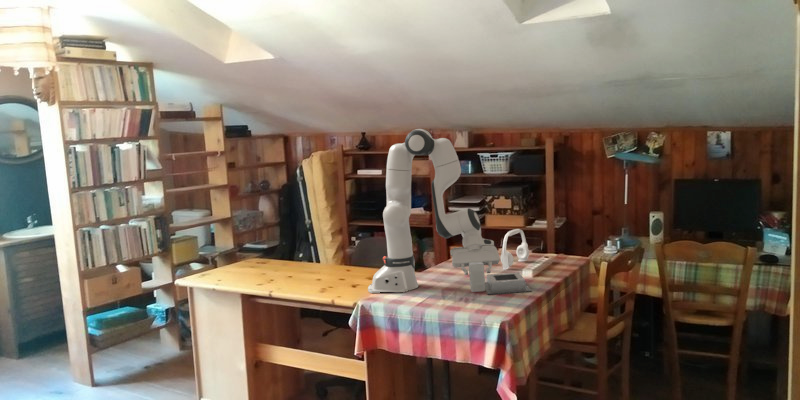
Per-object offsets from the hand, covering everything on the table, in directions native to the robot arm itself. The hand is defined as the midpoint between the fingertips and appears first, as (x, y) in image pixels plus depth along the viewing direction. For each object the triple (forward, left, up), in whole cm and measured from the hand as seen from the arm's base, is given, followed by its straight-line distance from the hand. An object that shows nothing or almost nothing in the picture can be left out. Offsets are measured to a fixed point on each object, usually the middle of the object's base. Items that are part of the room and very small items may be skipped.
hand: (477, 273), depth 273 cm
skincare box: (0, 0, -8) cm, 8 cm away
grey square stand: (+12, +1, -7) cm, 14 cm away
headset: (+23, +39, -8) cm, 46 cm away
